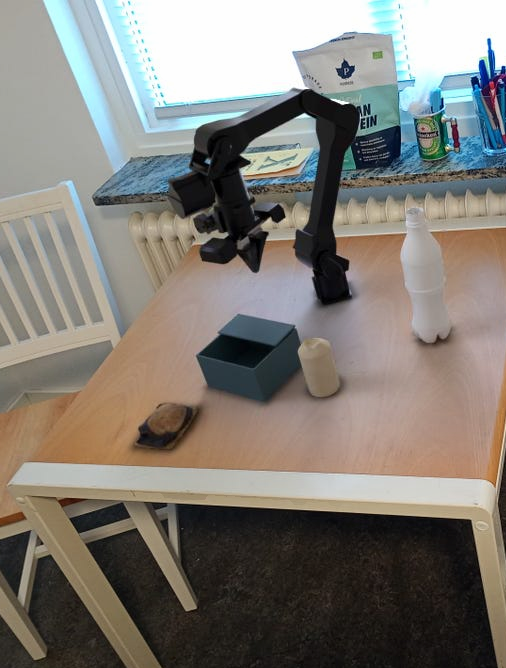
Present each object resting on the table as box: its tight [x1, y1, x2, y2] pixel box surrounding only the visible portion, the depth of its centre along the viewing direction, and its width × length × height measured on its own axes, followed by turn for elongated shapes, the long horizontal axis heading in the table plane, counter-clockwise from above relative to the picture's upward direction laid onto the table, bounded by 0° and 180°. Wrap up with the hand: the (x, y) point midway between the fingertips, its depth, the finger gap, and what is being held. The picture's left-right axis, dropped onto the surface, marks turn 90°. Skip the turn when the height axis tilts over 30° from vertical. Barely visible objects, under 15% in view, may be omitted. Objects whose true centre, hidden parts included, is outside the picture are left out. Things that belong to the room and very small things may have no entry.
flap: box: [217, 313, 296, 347], centre depth 131 cm, size 6×14×1 cm, turn 58°
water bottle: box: [400, 206, 452, 344], centre depth 126 cm, size 7×7×25 cm
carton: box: [195, 327, 302, 404], centre depth 132 cm, size 13×14×7 cm
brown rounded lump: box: [134, 402, 199, 451], centre depth 125 cm, size 11×8×4 cm
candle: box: [298, 337, 341, 398], centre depth 124 cm, size 6×6×10 cm
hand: (255, 272), depth 138 cm, fingers closed
